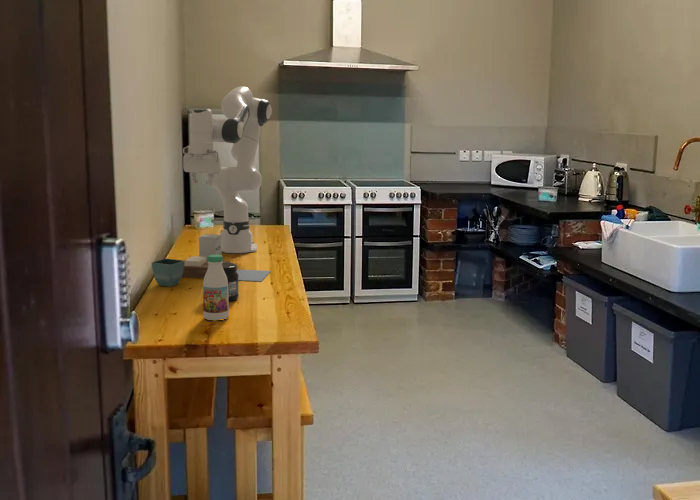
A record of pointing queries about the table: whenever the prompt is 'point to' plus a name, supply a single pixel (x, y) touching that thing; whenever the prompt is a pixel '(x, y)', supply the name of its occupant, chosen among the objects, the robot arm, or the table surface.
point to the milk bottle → (215, 290)
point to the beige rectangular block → (195, 261)
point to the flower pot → (168, 271)
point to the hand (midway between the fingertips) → (201, 184)
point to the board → (196, 270)
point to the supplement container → (231, 280)
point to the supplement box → (209, 245)
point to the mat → (252, 275)
